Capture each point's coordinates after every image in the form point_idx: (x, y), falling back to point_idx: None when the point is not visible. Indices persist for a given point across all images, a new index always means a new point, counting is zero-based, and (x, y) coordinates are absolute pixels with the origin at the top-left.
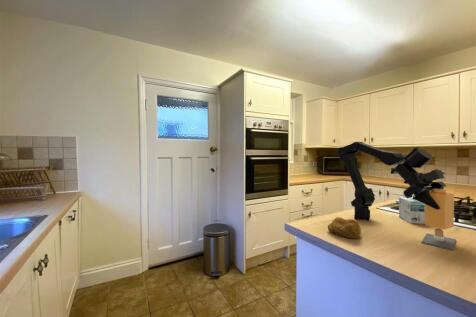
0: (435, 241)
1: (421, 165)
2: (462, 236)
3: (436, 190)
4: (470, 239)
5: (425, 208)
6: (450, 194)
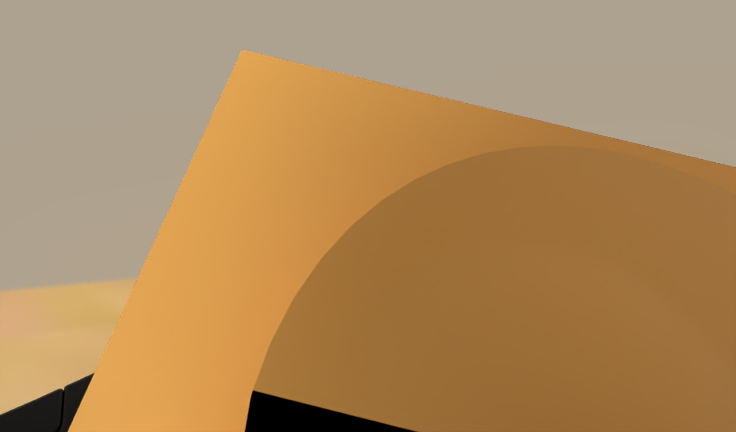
0: None
1: None
2: (28, 341)
3: None
4: (83, 288)
5: None
6: (497, 119)
